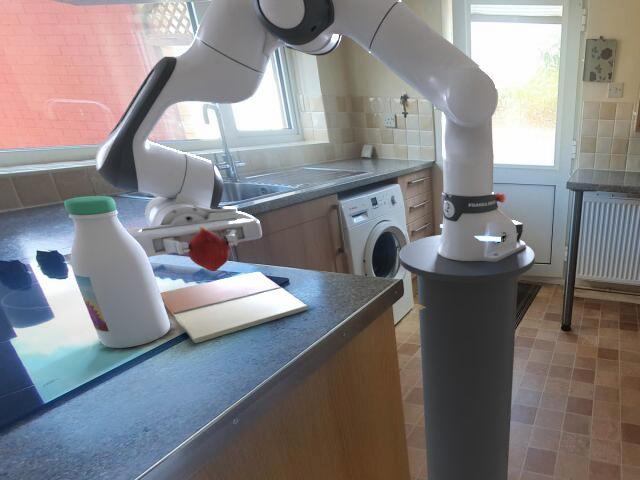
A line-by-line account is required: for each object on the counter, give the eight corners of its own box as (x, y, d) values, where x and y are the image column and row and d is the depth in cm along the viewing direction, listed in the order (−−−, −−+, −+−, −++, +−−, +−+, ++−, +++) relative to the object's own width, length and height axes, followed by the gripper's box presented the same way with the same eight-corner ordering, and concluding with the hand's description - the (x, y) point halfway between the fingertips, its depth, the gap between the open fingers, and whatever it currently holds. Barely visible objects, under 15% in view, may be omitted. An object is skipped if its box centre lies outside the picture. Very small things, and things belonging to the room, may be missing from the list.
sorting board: (259, 275, 83) (258, 270, 82) (308, 309, 69) (307, 305, 69) (159, 297, 71) (157, 292, 71) (194, 343, 58) (193, 338, 58)
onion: (238, 264, 76) (229, 222, 72) (227, 276, 71) (216, 231, 67) (202, 266, 74) (190, 222, 71) (188, 277, 69) (175, 231, 66)
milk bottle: (178, 320, 64) (139, 192, 56) (160, 344, 58) (112, 203, 50) (116, 327, 61) (65, 193, 54) (90, 353, 55) (27, 205, 47)
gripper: (108, 220, 70) (122, 238, 61) (243, 205, 84) (269, 218, 76) (120, 255, 72) (136, 276, 64) (249, 235, 86) (275, 250, 78)
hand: (209, 245), depth 70 cm, fingers closed on onion, 5 cm apart
